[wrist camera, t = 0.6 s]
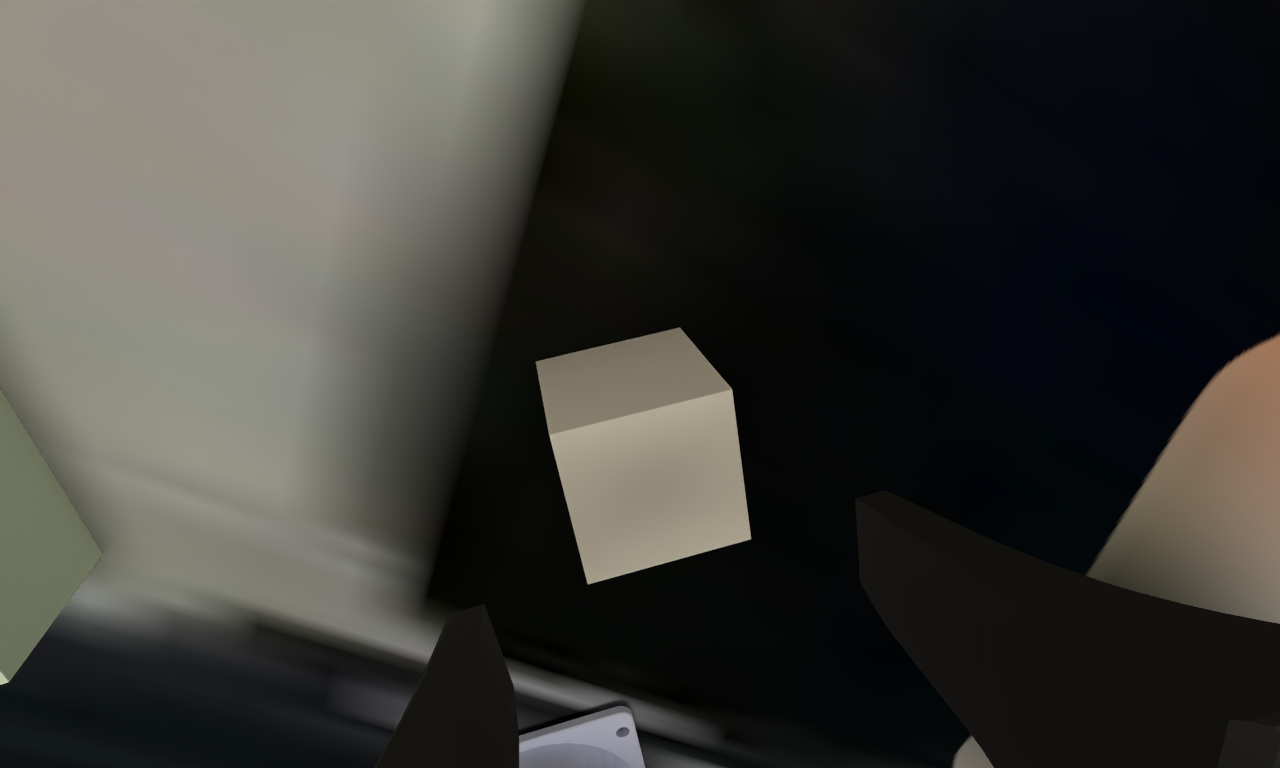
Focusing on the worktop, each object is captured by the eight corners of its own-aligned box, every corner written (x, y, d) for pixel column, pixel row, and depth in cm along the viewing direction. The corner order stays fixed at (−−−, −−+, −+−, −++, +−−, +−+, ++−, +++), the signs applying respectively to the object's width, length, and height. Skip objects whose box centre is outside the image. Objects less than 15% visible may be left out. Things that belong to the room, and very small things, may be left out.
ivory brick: (698, 451, 23) (751, 539, 18) (567, 486, 22) (587, 584, 18) (679, 326, 21) (732, 389, 16) (535, 360, 20) (549, 434, 16)
